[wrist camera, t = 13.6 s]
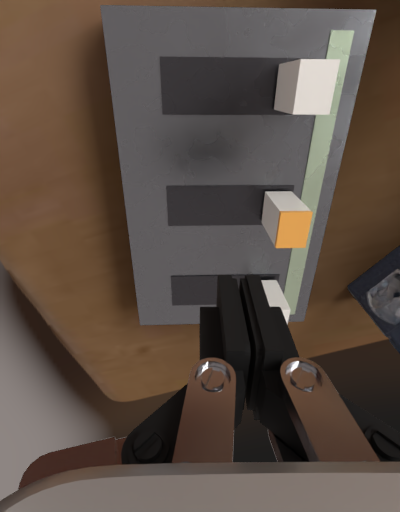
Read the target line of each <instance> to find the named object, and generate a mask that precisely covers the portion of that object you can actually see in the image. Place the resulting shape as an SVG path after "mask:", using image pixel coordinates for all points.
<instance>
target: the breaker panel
mask: <svg viewBox="0 0 400 512" xmlns="http://www.w3.org/2000/svg"><path fill="white" fill-rule="evenodd" d="M100 7H101V15H102V23H103V31H104V39H105V47H106V55H107V63H108V71H109V79H110V87H111V95H112V103H113V111H114V120H115V128H116V136H117V144H118V152H119V160H120V168H121V176H122V184H123V192H124V200H125V208H126V216H127V224H128V232H129V240H130V249H131V257H132V265H133V273H134V281H135V289H136V297H137V305H138V313H139V321H140V325H169V324H200V307H216V302H217V279H218V275H231V276H232V278H237V283H238V287H239V284H240V278H245V275H259V276H260V278H261V280H277V282H278V284H279V286H280V288H281V290H282V292H283V295H284V297H285V299H286V301H287V303H288V305H289V307H290V309H291V310H290V315H289V320H288V322H296V321H304V318H305V314H306V310H307V305H308V301H309V297H310V292H311V288H312V284H313V280H314V275H315V271H316V267H317V262H318V258H319V254H320V250H321V245H322V241H323V237H324V232H325V228H326V224H327V220H328V215H329V211H330V207H331V202H332V198H333V194H334V190H335V185H336V181H337V177H338V172H339V168H340V164H341V160H342V155H343V151H344V147H345V142H346V138H347V134H348V130H349V125H350V121H351V117H352V112H353V108H354V104H355V100H356V95H357V91H358V87H359V83H360V78H361V74H362V70H363V65H364V61H365V57H366V53H367V48H368V44H369V40H370V35H371V31H372V27H373V23H374V18H375V14H376V10H359V9H300V8H240V7H180V6H121V5H100ZM299 59H340V64H339V69H338V74H337V79H336V84H335V89H334V94H333V99H332V104H331V109H330V114H329V115H293V114H289V113H285V112H281V111H278V110H274V104H275V95H276V87H277V78H278V69H279V64H282V63H286V62H290V61H295V60H299ZM265 191H292V192H293V193H294V194H295V195H296V196H297V197H298V198H299V199H300V200H301V201H302V202H303V203H304V204H305V205H306V206H307V207H308V208H309V209H310V210H311V211H312V212H313V214H312V219H311V224H310V228H309V233H308V238H307V243H306V248H275V246H274V244H273V242H272V241H271V239H270V237H269V235H268V233H267V232H266V230H265V228H264V226H263V224H262V214H263V205H264V197H265Z"/></svg>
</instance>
